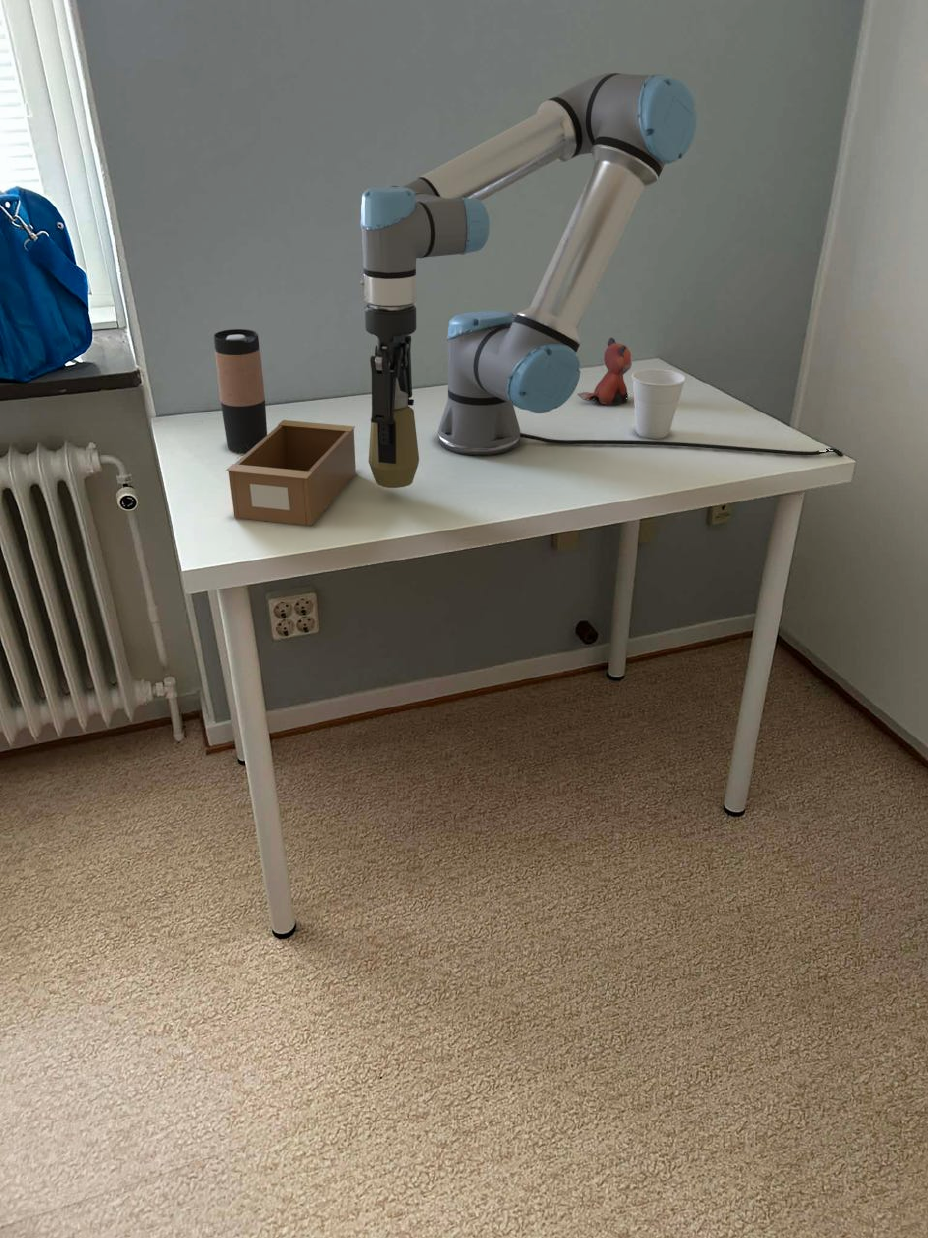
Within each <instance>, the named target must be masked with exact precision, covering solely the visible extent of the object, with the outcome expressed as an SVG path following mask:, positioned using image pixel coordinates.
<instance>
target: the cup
mask: <svg viewBox="0 0 928 1238" xmlns="http://www.w3.org/2000/svg"><path fill="white" fill-rule="evenodd" d="M631 379H632V387H633V401H634V402H633V404H634V419H635V421H634V422H635V423H634V424H635V432H636V433H637V435H638V436H639V437H642V438H645V439H650V440H651V439H652V440H659V439H663V438H666V437H667V436H668V435H669V434H670V431H671V427H672V425H673V420H674V417H675V413H676V410H677V408H678V404H679V400H680V397H681V395H682V391H683V387H684V385H685V383H686V382H687V378H686V376H685V375H684V374H682V373H680V372H678V371H674V370H670V369H663V368H645V369H639V370H636V371H634V372H633V373H631Z"/></svg>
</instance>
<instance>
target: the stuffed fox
mask: <svg viewBox="0 0 928 1238" xmlns="http://www.w3.org/2000/svg"><path fill="white" fill-rule="evenodd" d="M631 356H632V354H631V351H630V349H629V348H628V347H627V345H625V344H622V343H617V342H616V340H615V338H614V337H609V338H608V341H607V348H606V349H605V352H604V356H603V358H604V364H605V367H606V369H607V372H606V373H605V374H604V375H603V377H602V379H600V381H599V382H598V383H597V385H596V386H595V388H594V390H593V392H587V391H586V392H585V391H583V392H579V393H577V396H578V397H579V399H581V400H582V401H586V402H595V401H598V400H599V403H600V405H603V404H604V405H606V406H607V405H608V406H614V405H617V406H618V405H620V404H625V403H628V400H629V399H628V397H629V393H628V390H627V389H628V388H627V385H626V383H625V380H624V374H626V373H627V372H629V370H630V369H632V357H631ZM626 398H627V399H626Z"/></svg>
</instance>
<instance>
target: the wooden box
mask: <svg viewBox="0 0 928 1238" xmlns="http://www.w3.org/2000/svg"><path fill="white" fill-rule="evenodd" d="M355 428H356V426H355V425H346V424H345V425H343V424H333V423H322V422H313V421H312V422H311V421H302V420H301V421H299V420H289V419H282V420H281V421H280V422H279V423H278V424H277V426H276V427H275V428H273V430H271V431H270V432H269V433H267V436H266V437H265V438H263V439H262V440H261V441H260V442H259V443H258V444H257V445H255V446H254V447H253V448H252V449H251V450H250V451H249V452H247V453H244V455H243V456H241V458H239V459H238V460H237V461H236V462H235V463H232V464H231V465H230V466H229V467H227V468H226V470H225V471H227V472H228V478H229V486H230V495H231V502H232V503H231V504H232V511H233V512H232V513H233V519H241V520H243V519H244V520H251V521H260V522H269V523H277V524H287V525H295V526H307V527H312V526H313V525H314V524H315V523H316V522H317V520H318V519H319V518H320V517H321V516H322V515H323V513H324V512H325V511H326V510H327V508H328V507H330V505H331V504H332V503H333V501H334V500H335V499H336V498H337V496H338V495H339V494H340V493H341V492H342V491H343V490H344V488H345V487H346V486H347V485H348V483H349V482H351V480H352V479H353V477H354V476H355V475H356V473H357V470H356V469H357V468H356V466H357V465H356V450H355V449H356V448H355V447H356V445H355Z"/></svg>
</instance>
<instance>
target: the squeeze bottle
mask: <svg viewBox="0 0 928 1238" xmlns="http://www.w3.org/2000/svg"><path fill="white" fill-rule="evenodd" d="M390 372H393V371H391V370H390ZM371 418H372V416H371ZM371 418H370V419H371ZM393 419H394V421H393V422H396V464H390V463H380V462H378V435H377V423H373V422H371V421H370V435H369V447H368V448H369V449H368V465H369V467H370V470H371V473H372V475H373V478H374V480H375V483H376V484H377V485H378V486H381V487H383V488H388V489H400V488H401V489H402V488H405V487H407V486H410V485H411V484H412V483H413V482H414V479H415V476H416V473H417V471H418V468H419V467H418V466H419V464H420V453H419V446H418V445H419V444H418V437H417V428H416V427H417V426H416V420H415V410H414V409H413V408H412V407H411V406H409V405H408V395H407V394H406V393H405V392H403V391H400V387H399V383H398V378H396V388H395V403H394V418H393Z"/></svg>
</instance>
